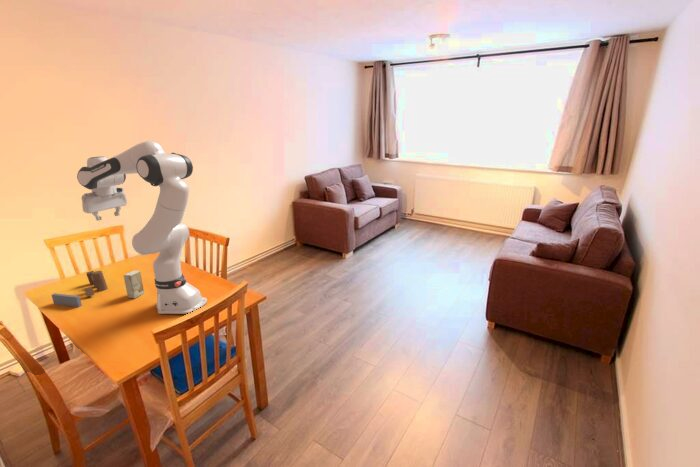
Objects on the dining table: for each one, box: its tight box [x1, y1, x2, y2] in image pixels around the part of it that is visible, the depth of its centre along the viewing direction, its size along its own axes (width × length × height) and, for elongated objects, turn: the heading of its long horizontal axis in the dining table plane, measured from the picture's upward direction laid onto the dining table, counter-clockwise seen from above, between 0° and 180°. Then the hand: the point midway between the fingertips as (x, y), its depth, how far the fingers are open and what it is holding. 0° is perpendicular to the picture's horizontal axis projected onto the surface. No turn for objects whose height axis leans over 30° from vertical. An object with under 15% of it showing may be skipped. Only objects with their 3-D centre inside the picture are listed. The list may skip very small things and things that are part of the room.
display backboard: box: [51, 292, 83, 308], centre depth 157 cm, size 14×2×5 cm, turn 79°
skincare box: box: [123, 270, 145, 299], centre depth 166 cm, size 6×4×12 cm
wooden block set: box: [83, 270, 108, 298], centre depth 171 cm, size 18×9×10 cm, turn 38°
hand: (108, 217), depth 167 cm, fingers open, 8 cm apart
